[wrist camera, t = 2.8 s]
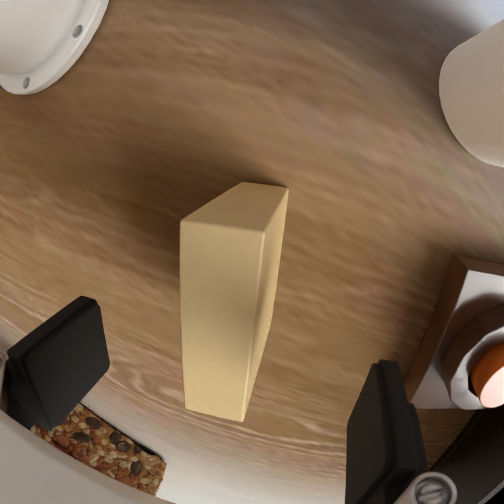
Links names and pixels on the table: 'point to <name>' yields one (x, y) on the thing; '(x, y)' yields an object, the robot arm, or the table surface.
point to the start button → (490, 377)
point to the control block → (458, 336)
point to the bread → (105, 450)
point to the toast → (228, 294)
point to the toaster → (477, 459)
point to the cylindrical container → (476, 94)
